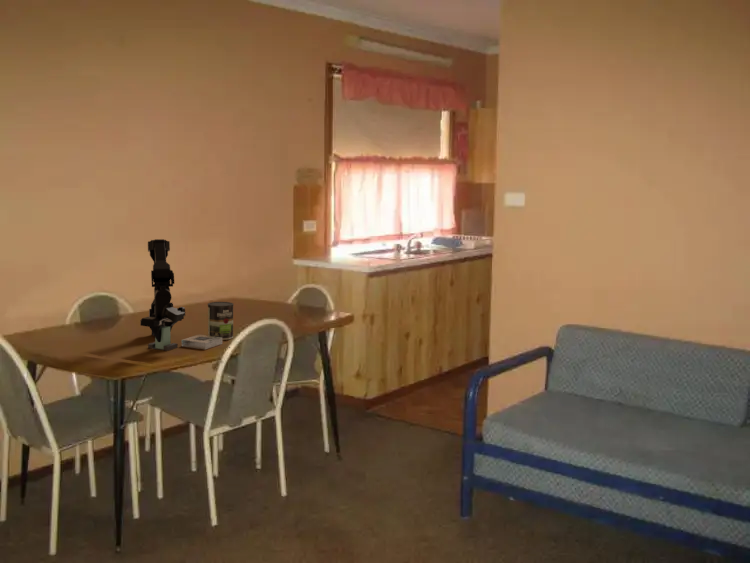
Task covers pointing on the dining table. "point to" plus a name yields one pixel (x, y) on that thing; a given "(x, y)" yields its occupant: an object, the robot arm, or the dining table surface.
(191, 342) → the port
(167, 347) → the dark grey bracket
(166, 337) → the plug
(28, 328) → the dining table surface
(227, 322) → the coffee can
